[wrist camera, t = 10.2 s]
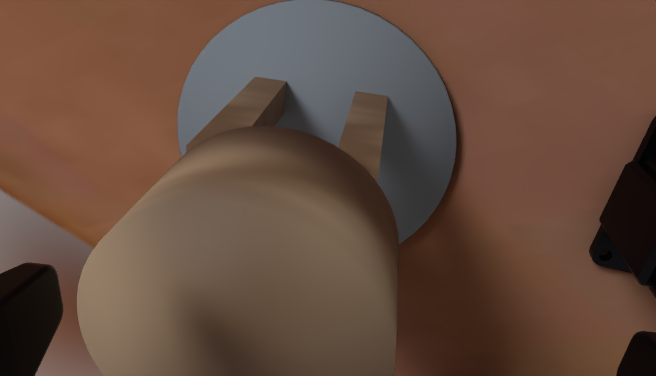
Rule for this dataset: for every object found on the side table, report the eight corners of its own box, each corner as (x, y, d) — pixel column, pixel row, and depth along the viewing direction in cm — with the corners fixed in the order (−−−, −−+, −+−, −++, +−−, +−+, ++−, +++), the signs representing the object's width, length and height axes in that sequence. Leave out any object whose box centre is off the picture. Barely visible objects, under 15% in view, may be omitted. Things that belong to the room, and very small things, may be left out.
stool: (416, 75, 19) (425, 232, 9) (386, 235, 22) (369, 479, 12) (232, 49, 20) (58, 173, 10) (228, 209, 23) (92, 424, 13)
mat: (494, 34, 19) (496, 36, 18) (414, 282, 24) (414, 289, 23) (190, -30, 19) (185, -30, 19) (175, 227, 24) (171, 233, 24)
